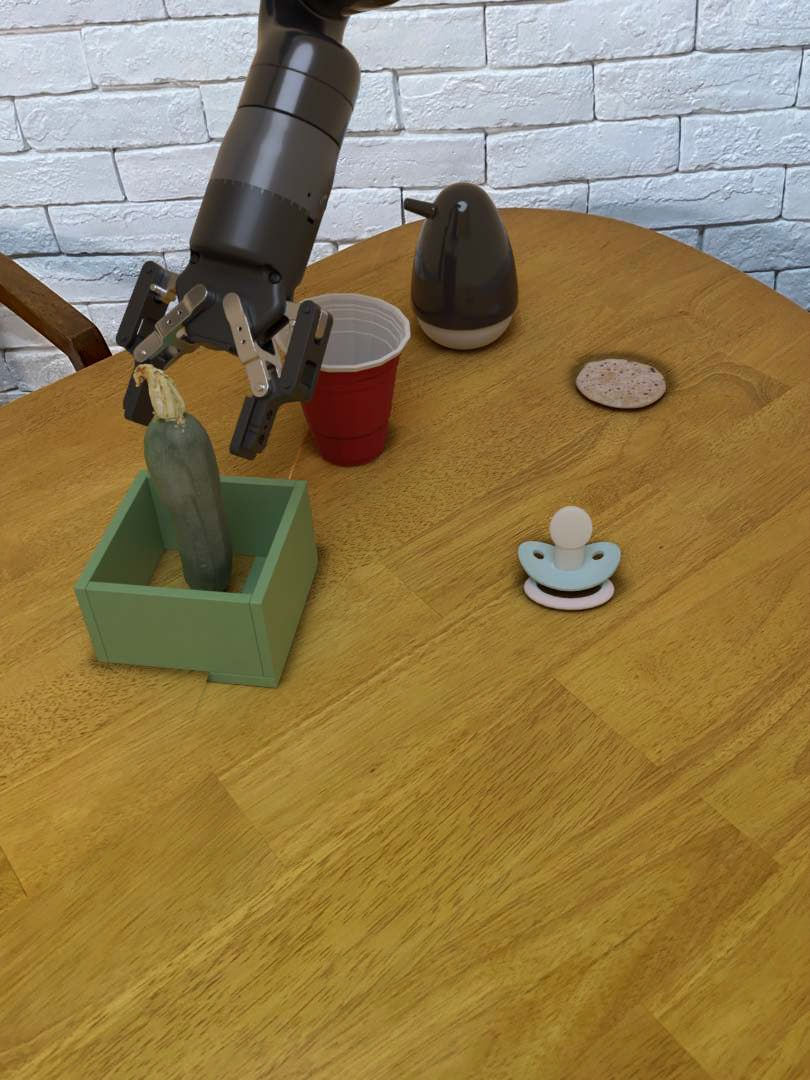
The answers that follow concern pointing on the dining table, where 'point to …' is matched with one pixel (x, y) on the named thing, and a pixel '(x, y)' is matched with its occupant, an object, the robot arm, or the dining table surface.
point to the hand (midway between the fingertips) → (187, 439)
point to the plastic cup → (354, 377)
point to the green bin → (195, 615)
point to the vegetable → (187, 483)
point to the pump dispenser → (462, 268)
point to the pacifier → (569, 562)
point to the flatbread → (621, 383)
